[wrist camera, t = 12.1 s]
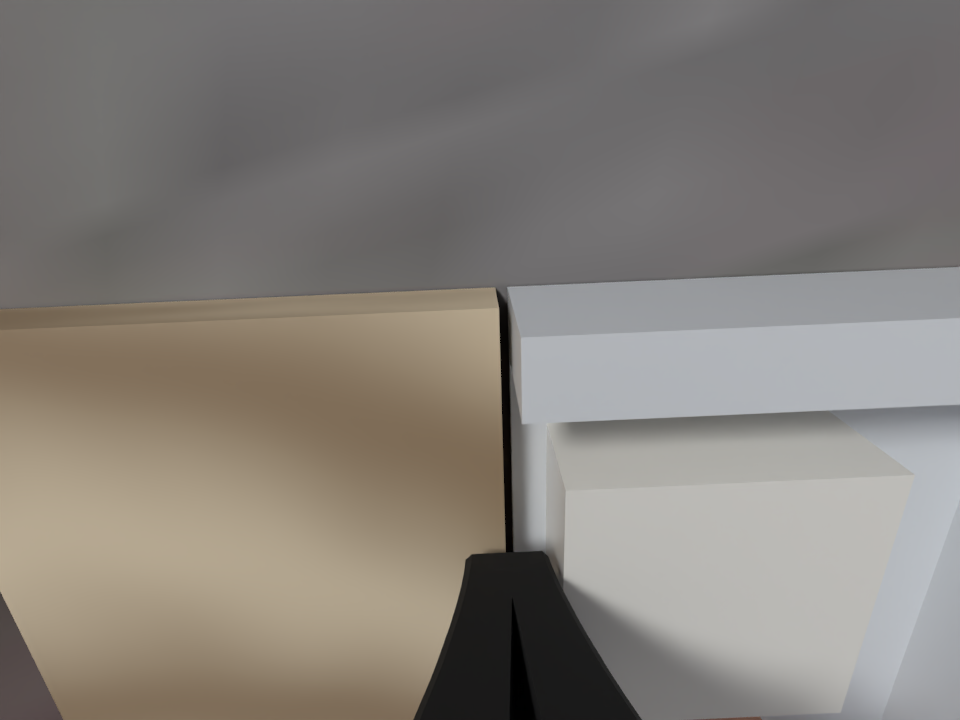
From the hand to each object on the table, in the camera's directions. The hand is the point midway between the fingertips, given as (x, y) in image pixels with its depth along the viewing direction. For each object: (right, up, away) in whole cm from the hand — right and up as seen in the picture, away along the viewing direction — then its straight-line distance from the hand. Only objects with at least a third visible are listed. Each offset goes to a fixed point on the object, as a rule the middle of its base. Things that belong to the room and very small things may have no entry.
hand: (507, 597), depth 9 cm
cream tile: (+3, +1, +1) cm, 4 cm away
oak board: (-4, -3, +3) cm, 6 cm away
